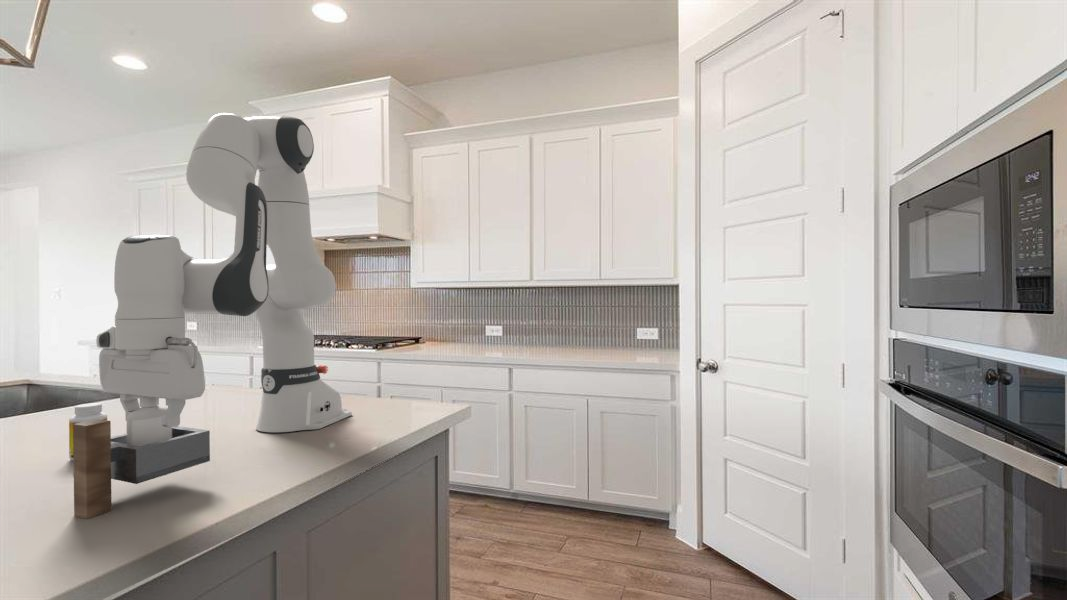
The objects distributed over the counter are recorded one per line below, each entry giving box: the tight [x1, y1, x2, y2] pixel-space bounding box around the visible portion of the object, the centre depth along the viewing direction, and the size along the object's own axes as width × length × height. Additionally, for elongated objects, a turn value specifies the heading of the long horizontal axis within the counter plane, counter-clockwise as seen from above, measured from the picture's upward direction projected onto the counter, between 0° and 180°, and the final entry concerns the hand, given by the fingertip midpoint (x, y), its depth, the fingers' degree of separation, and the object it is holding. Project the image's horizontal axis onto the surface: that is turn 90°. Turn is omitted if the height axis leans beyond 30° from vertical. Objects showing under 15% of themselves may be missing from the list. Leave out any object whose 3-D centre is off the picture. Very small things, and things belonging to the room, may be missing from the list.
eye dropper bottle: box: [126, 396, 172, 446], centre depth 80 cm, size 4×6×12 cm
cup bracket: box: [73, 419, 211, 520], centre depth 78 cm, size 15×11×13 cm
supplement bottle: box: [68, 402, 108, 462], centre depth 98 cm, size 6×6×10 cm
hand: (152, 424), depth 80 cm, fingers open, 8 cm apart
